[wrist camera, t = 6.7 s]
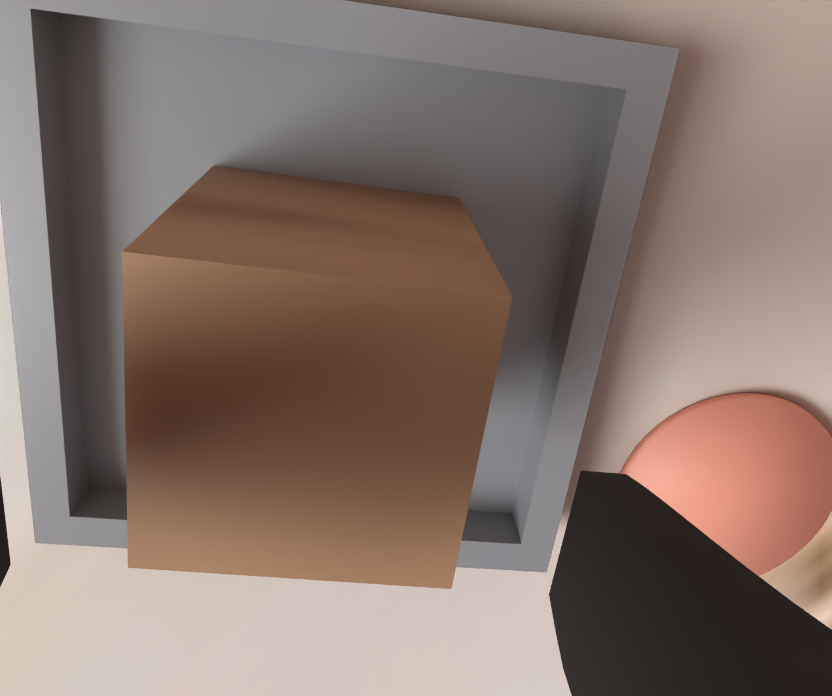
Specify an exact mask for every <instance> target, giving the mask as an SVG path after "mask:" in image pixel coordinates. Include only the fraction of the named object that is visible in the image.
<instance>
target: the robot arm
mask: <svg viewBox="0 0 832 696" xmlns="http://www.w3.org/2000/svg"><path fill="white" fill-rule="evenodd" d="M9 567H10V555H9V547H8V538H7V530H6V521H5V513H4V504H3V496H2V487H1V479H0V586H1V584H2V582H3V580H4V577H5V575H6V573H7V571H8V569H9ZM549 596H550V602H551V608H552V613H553V619H554V624H555V630H556V635H557V640H558V645H559V650H560V655H561V660H562V664H563V669H564V672H565V675H566V679H567V682H568V685H569V688H570V691H571V694H572V696H832V630H831V629H830V628H828V627H827V626H825V625H824V624H823V623H821V622H820V621H818V620H817V619H816V618H814V617H813V616H811V615H810V614H809V613H807V612H806V611H804V610H803V609H802V608H800V607H799V606H797V605H796V604H795V603H793V602H792V601H791V600H789V599H788V598H787V597H785V596H784V595H783V594H781V593H780V592H779V591H777V590H776V589H775V588H773V587H772V586H771V585H769V584H768V583H767V582H765V581H764V580H763V579H761V578H760V577H759V576H758V575H756V574H755V573H754V572H752V571H751V570H750V569H748V568H747V567H746V566H745V565H743V564H742V563H741V562H740V561H738V560H737V559H736V558H734V557H733V556H732V555H731V554H729V553H728V552H727V551H726V550H724V549H723V548H722V547H720V546H719V545H718V544H717V543H715V542H714V541H713V540H712V539H710V538H709V537H708V536H707V535H705V534H704V533H703V532H702V531H700V530H699V529H698V528H697V527H695V526H694V525H693V524H692V523H690V522H689V521H688V520H687V519H685V518H684V517H683V516H682V515H680V514H679V513H678V512H677V511H675V510H674V509H673V508H672V507H670V506H669V505H668V504H667V503H665V502H664V501H663V500H661V499H660V498H659V497H658V496H656V495H655V494H654V493H652V492H651V491H650V490H648V489H647V488H646V487H644V486H643V485H642V484H640V483H639V482H637V481H636V480H634V479H633V478H631V477H630V476H628V475H627V474H617V473H604V472H591V471H581V472H580V476H579V480H578V484H577V488H576V492H575V496H574V500H573V503H572V507H571V511H570V515H569V519H568V523H567V527H566V531H565V535H564V538H563V542H562V546H561V550H560V554H559V558H558V562H557V566H556V570H555V573H554V577H553V581H552V585H551V589H550V593H549Z"/></svg>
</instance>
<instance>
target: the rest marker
mask: <svg viewBox="0 0 832 696" xmlns="http://www.w3.org/2000/svg"><path fill="white" fill-rule="evenodd" d="M620 474H627V475H628V476H630V477H631V478H633V479H634V480H636V481H637V482H639V483H640V484H642V485H643V486H644V487H646V488H647V489H648V490H650V491H651V492H652V493H654V494H655V495H656V496H658V497H659V498H660V499H661V500H663V501H664V502H665V503H667V504H668V505H669V506H670V507H672V508H673V509H674V510H675V511H677V512H678V513H679V514H680V515H682V516H683V517H684V518H685V519H687V520H688V521H689V522H690V523H692V524H693V525H694V526H695V527H697V528H698V529H699V530H700V531H702V532H703V533H704V534H705V535H707V536H708V537H709V538H710V539H712V540H713V541H714V542H715V543H717V544H718V545H719V546H720V547H722V548H723V549H724V550H726V551H727V552H728V553H729V554H731V555H732V556H733V557H734V558H736V559H737V560H738V561H740V562H741V563H742V564H743V565H745V566H746V567H747V568H748V569H750V570H751V571H752V572H754V573H755V574H756V575H758V576H759V575H762V574H764V573H766V572H768V571H770V570H772V569H774V568H776V567H777V566H779V565H781V564H782V563H784V562H785V561H787V560H788V559H790V558H791V557H792V556H794V555H795V554H796V553H797V552H799V551H800V550H801V549H802V548H803V547H804V546H805V545H806V544H807V543H808V542H809V541H810V540H811V539H812V538H813V537H814V536H815V535H816V533H817V532H818V531H819V530H820V528H821V527H822V525H823V524H824V523H825V521H826V520H827V518H828V516H829V514H830V512H831V510H832V436H831V435H830V434H829V432H828V431H827V430H826V428H825V427H824V426H823V425H822V424H821V423H820V422H819V421H818V420H817V419H816V418H815V417H814V416H812V415H811V414H810V413H809V412H808V411H806V410H805V409H803V408H802V407H800V406H799V405H797V404H795V403H793V402H790V401H788V400H786V399H783V398H779V397H776V396H772V395H766V394H759V393H739V394H728V395H723V396H719V397H714V398H710V399H707V400H704V401H701V402H698V403H696V404H693V405H691V406H689V407H687V408H684V409H682V410H681V411H679V412H677V413H675V414H674V415H672V416H670V417H669V418H667V419H666V420H665V421H663V422H662V423H660V424H659V425H658V426H656V427H655V428H654V429H653V430H652V431H651V432H650V433H649V434H648V435H646V436H645V437H644V438H643V440H642V441H641V442H640V443H639V444H638V445H637V446H636V448H635V449H634V450H633V452H632V453H631V455H630V456H629V458H628V459H627V461H626V463H625V464H624V466H623V468H622V470H621V472H620Z"/></svg>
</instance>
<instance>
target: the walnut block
mask: <svg viewBox="0 0 832 696" xmlns="http://www.w3.org/2000/svg"><path fill="white" fill-rule="evenodd" d="M122 281H123V332H124V383H125V435H126V486H127V537H128V568H142V569H157V570H173V571H188V572H203V573H218V574H233V575H248V576H264V577H279V578H294V579H309V580H324V581H339V582H355V583H370V584H385V585H400V586H415V587H430V588H446V589H451V588H452V583H453V578H454V574H455V569H456V564H457V559H458V554H459V550H460V545H461V540H462V535H463V531H464V526H465V521H466V516H467V511H468V507H469V502H470V497H471V492H472V488H473V483H474V478H475V473H476V468H477V464H478V459H479V454H480V449H481V445H482V440H483V435H484V430H485V425H486V421H487V416H488V411H489V406H490V402H491V397H492V392H493V387H494V382H495V378H496V373H497V368H498V363H499V359H500V354H501V349H502V344H503V339H504V335H505V330H506V325H507V320H508V316H509V311H510V306H511V301H512V295H511V293H510V291H509V290H508V288H507V286H506V284H505V282H504V280H503V279H502V277H501V275H500V273H499V271H498V269H497V267H496V266H495V264H494V262H493V260H492V258H491V256H490V255H489V253H488V251H487V249H486V247H485V245H484V244H483V242H482V240H481V238H480V236H479V234H478V233H477V231H476V229H475V227H474V225H473V223H472V221H471V220H470V218H469V216H468V214H467V212H466V210H465V209H464V207H463V205H462V203H461V201H460V199H459V198H457V197H450V196H442V195H434V194H427V193H419V192H411V191H404V190H396V189H389V188H381V187H373V186H366V185H358V184H350V183H343V182H335V181H327V180H320V179H312V178H305V177H297V176H289V175H282V174H274V173H266V172H259V171H251V170H243V169H236V168H228V167H221V166H212V167H211V168H210V169H209V170H208V171H207V172H206V173H205V174H204V175H203V176H202V177H201V178H200V179H199V180H198V181H197V182H195V183H194V184H193V185H192V186H191V187H190V188H189V189H188V190H187V191H186V192H185V193H184V194H183V195H182V196H181V197H179V198H178V199H177V200H176V201H175V202H174V203H173V204H172V205H171V206H170V207H169V208H168V209H167V210H166V211H165V212H164V213H162V214H161V215H160V216H159V217H158V218H157V219H156V220H155V221H154V222H153V223H152V224H151V225H150V226H149V227H148V228H147V229H145V230H144V231H143V232H142V233H141V234H140V235H139V236H138V237H137V238H136V239H135V240H134V241H133V242H132V243H131V244H130V245H128V246H127V247H126V248H125V249H124V250H123V251H122Z"/></svg>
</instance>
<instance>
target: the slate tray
mask: <svg viewBox="0 0 832 696" xmlns="http://www.w3.org/2000/svg"><path fill="white" fill-rule="evenodd" d="M679 51H680V48H673V47H666V46H659V45H652V44H645V43H638V42H631V41H624V40H617V39H611V38H604V37H597V36H590V35H583V34H576V33H569V32H562V31H555V30H548V29H541V28H534V27H527V26H520V25H513V24H506V23H499V22H492V21H485V20H478V19H471V18H464V17H457V16H450V15H443V14H436V13H430V12H423V11H416V10H409V9H402V8H395V7H388V6H381V5H374V4H367V3H360V2H353V1H346V0H0V205H1V215H2V225H3V234H4V244H5V254H6V264H7V273H8V283H9V293H10V302H11V312H12V322H13V332H14V341H15V351H16V361H17V371H18V380H19V390H20V400H21V409H22V419H23V429H24V439H25V448H26V458H27V468H28V477H29V487H30V497H31V507H32V516H33V526H34V536H35V543H44V544H62V545H79V546H97V547H114V548H128V537H127V486H126V435H125V383H124V332H123V281H122V251H123V250H124V249H125V248H126V247H127V246H128V245H130V244H131V243H132V242H133V241H134V240H135V239H136V238H137V237H138V236H139V235H140V234H141V233H142V232H143V231H144V230H145V229H147V228H148V227H149V226H150V225H151V224H152V223H153V222H154V221H155V220H156V219H157V218H158V217H159V216H160V215H161V214H162V213H164V212H165V211H166V210H167V209H168V208H169V207H170V206H171V205H172V204H173V203H174V202H175V201H176V200H177V199H178V198H179V197H181V196H182V195H183V194H184V193H185V192H186V191H187V190H188V189H189V188H190V187H191V186H192V185H193V184H194V183H195V182H197V181H198V180H199V179H200V178H201V177H202V176H203V175H204V174H205V173H206V172H207V171H208V170H209V169H210V168H211V167H212V166H221V167H228V168H236V169H243V170H251V171H259V172H266V173H274V174H282V175H289V176H297V177H305V178H312V179H320V180H327V181H335V182H343V183H350V184H358V185H366V186H373V187H381V188H389V189H396V190H404V191H411V192H419V193H427V194H434V195H442V196H450V197H457V198H459V199H460V201H461V203H462V205H463V207H464V209H465V210H466V212H467V214H468V216H469V218H470V220H471V221H472V223H473V225H474V227H475V229H476V231H477V233H478V234H479V236H480V238H481V240H482V242H483V244H484V245H485V247H486V249H487V251H488V253H489V255H490V256H491V258H492V260H493V262H494V264H495V266H496V267H497V269H498V271H499V273H500V275H501V277H502V279H503V280H504V282H505V284H506V286H507V288H508V290H509V291H510V293H511V295H512V301H511V306H510V311H509V316H508V320H507V325H506V330H505V335H504V339H503V344H502V349H501V354H500V359H499V363H498V368H497V373H496V378H495V382H494V387H493V392H492V397H491V402H490V406H489V411H488V416H487V421H486V425H485V430H484V435H483V440H482V445H481V449H480V454H479V459H478V464H477V468H476V473H475V478H474V483H473V488H472V492H471V497H470V502H469V507H468V511H467V516H466V521H465V526H464V531H463V535H462V540H461V545H460V550H459V554H458V559H457V564H456V567H464V568H482V569H499V570H517V571H534V572H547V569H548V565H549V562H550V558H551V554H552V550H553V546H554V542H555V538H556V534H557V530H558V526H559V522H560V518H561V514H562V510H563V506H564V503H565V499H566V495H567V491H568V487H569V483H570V479H571V475H572V471H573V467H574V463H575V459H576V455H577V451H578V448H579V444H580V440H581V436H582V432H583V428H584V424H585V420H586V416H587V412H588V408H589V404H590V400H591V396H592V393H593V389H594V385H595V381H596V377H597V373H598V369H599V365H600V361H601V357H602V353H603V349H604V345H605V341H606V338H607V334H608V330H609V326H610V322H611V318H612V314H613V310H614V306H615V302H616V298H617V294H618V290H619V286H620V282H621V279H622V275H623V271H624V267H625V263H626V259H627V255H628V251H629V247H630V243H631V239H632V235H633V231H634V227H635V224H636V220H637V216H638V212H639V208H640V204H641V200H642V196H643V192H644V188H645V184H646V180H647V176H648V172H649V169H650V165H651V161H652V157H653V153H654V149H655V145H656V141H657V137H658V133H659V129H660V125H661V121H662V117H663V114H664V110H665V106H666V102H667V98H668V94H669V90H670V86H671V82H672V78H673V74H674V70H675V66H676V62H677V58H678V55H679Z"/></svg>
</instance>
